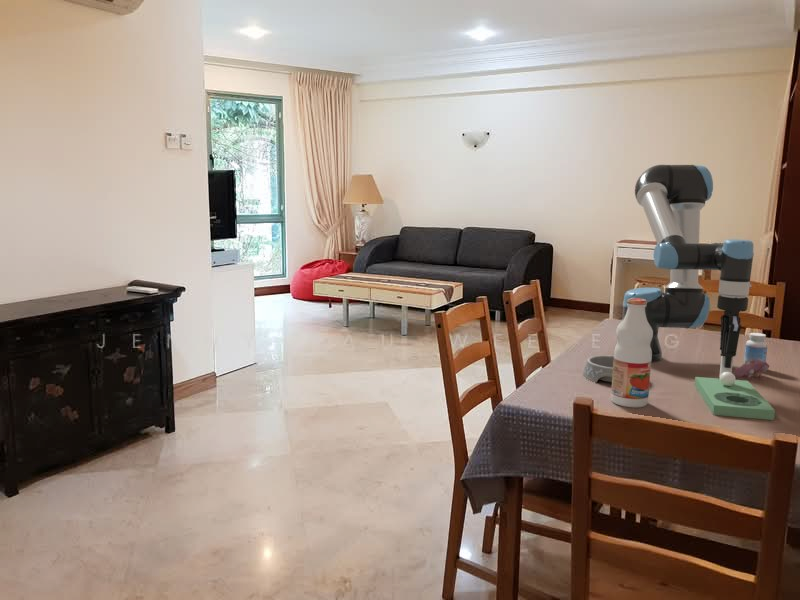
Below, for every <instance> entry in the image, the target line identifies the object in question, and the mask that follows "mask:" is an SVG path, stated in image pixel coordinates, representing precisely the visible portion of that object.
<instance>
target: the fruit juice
mask: <svg viewBox="0 0 800 600" xmlns="http://www.w3.org/2000/svg"><path fill="white" fill-rule="evenodd" d="M627 305H628V309H627V312H626V315H625V317H624V319H623V321H622V320H621V322H620V323H619V324H618V325H617V327H616V330H615V334H616V335H615V336H616V340H617V342H616V344H617V345H616V344H615V347H614V352H613V356H614V362H613V375H612V382H611V391H610V399H611V402H612V403H614V404H616V405H619V406H620V407H626V408H636V409H637V408H642V407H646V406H647V405H648V401H649V394H650V381H651V380H650V379H651V369H652V362H651V360H652V351H651V347H650V343H651V340H652V337H653V330H652V328H651V326H650V324H649V323H648V321H647V318H646V313H645V307H646V305H647V300H645V299H640V298H628V299H627Z"/></svg>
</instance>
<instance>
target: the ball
mask: <svg viewBox="0 0 800 600" xmlns="http://www.w3.org/2000/svg"><path fill="white" fill-rule="evenodd" d="M719 376H720V377H719V379H720V382H721V383H722V384H723V385H725V386H731V385H733V384H734V383H735V381H736V380H737V379H736V378H737V377H735V376H734V374H733V372H732V373H731V372H724V373H722V374H721V375H720V374H719Z"/></svg>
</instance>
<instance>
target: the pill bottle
mask: <svg viewBox="0 0 800 600" xmlns="http://www.w3.org/2000/svg"><path fill="white" fill-rule="evenodd" d="M766 337H767V335H766V334H764V333H761V332H759V333H758V332H750V333H749V335H748V338H749V340H747V341H746V342H745V350H744V359H743V365H744V364H745V363H747V362H750V361H752V360H763V362H766V363H767V354H768V353H767V352H768V343H767V342H766V341H765V340H766V339H767V338H766Z"/></svg>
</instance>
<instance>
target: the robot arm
mask: <svg viewBox="0 0 800 600" xmlns="http://www.w3.org/2000/svg"><path fill="white" fill-rule="evenodd" d="M713 190H714V181H713V176H712V173H711V171H710V170H709V169H708V167H706V166H705V165H697V164H657V165H653V166H651V167H649V168H647V169H646V170H645V171H644V172H642V174H640V176H639V177H638V179H637V181H636V183H635V186H634V195H635V199H636V202H637V204H639V206H641V207H642V208H643V210H644V213H645V216H646V218H647V221H648V223H649V226H650V229H651V231H652V234H653V237H654V239H655V242H656V245H655V247H654V249H653V262H654V265H655V266H656V268H657V269H663V270H664V269H665V270H669V272H670V277H669V279H670V280H669V283H668V284H667V285H666V286H665V287H664V292H663V291H662V289H661V288H658V287H637V288H631V289H629V290H627V291H626V292H625V293H624V296H623V302H622V316H621V317H622V318H621V322H622V321H623V319H624V317H625V315H626V312H627V309H628V305H627V299H628V298H640V299H645V300H647V305H646V307H645V313H646V318H647V321H648V323H649V324H650V326H651V328H652V330H653V337H652V340H651V343H650V347H651V351H652V360H651V363H656V362H661V361H662V357H663V352H662V348H661V344H660V341H659V340H660V339H659V328H674V329H675V328H676V329H677V328H678V329H696V328H700V327H702V326H703V325H704V324H705V322H706V321H707V319H708V317H709V313H710V308H711V301H710V297H709V295H708V294H706V293H704V288H703V286H702V285H701V284H700V283H699V271H703V270H705V271H720V276H719V283H718V294H719V295H718V296H717V305H716V306H717V309H719V310H722V311H723V314H722V315H720V339H719V341H720V344H719V351H720V366H719V368H720V369H719V375H718V376H719V378H720V375H721V374H722V373H724V372H731V373H733V362H734V357H736V355H737V350H738V343H739V340H740V339H739V338H740V332H741V329H742V323H741V317H740V312H746V311H747V310H748V308H749V307H748V305H749V298H748V297H747V296H749V294H750V289H751V288H752V287H753V285H752V284H751V277H752V266H753V260H754V259H753V257H754V242H753V241H752V240H749V239H736V238H735V239H733V238H730V239H725V240H724V241H723V243H722V242H719V243H718V242H713V243H700V230H701V229H700V227H701V226H700V225H701V223H700V221H701V210H702V209H703V208H704V207H705V206H706V202H707V201H709V200H710V199H711V197H712V195H713ZM616 345H617V343H616V344H615V346H616Z"/></svg>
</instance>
